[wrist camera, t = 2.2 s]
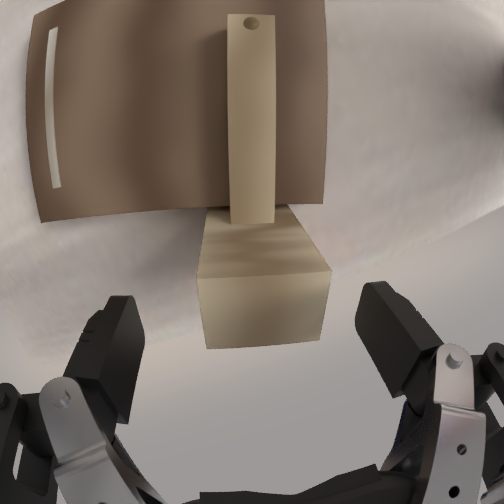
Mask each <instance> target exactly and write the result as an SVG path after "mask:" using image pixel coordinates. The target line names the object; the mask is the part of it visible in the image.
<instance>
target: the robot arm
mask: <svg viewBox="0 0 504 504" xmlns="http://www.w3.org/2000/svg"><path fill="white" fill-rule="evenodd" d="M355 327H356V331H357V333H358V335H359V336H360V338H361V340H362V342H363V344H364V345H365V347H366V349H367V351H368V353H369V354H370V356H371V358H372V360H373V361H374V364H375V365H376V367H377V369H378V371H379V373H380V375H381V377H382V379H383V380H384V382H385V384H386V386H387V388H388V390H389V392H390V394H391V396H392V398H396V397H399V396H402V395H405V396H406V398H407V399H406V401H405V403H404V405H403V410H402V414H401V418H400V422H399V426H398V430H397V434H396V438H395V441H394V444H393V447H392V449H391V451H390V453H389V455H388V456H387V458H386V459H385V461H384V463H383V465H382V467H381V469H380V471H378V470H377V467H376V464H373V465H370V466H367V467H364V468H361V469H358V470H354V471H351V472H348V473H345V474H341V475H337V476H335V477H333V478H331V479H329V480H327V481H325V482H323V483H321V484H319V485H317V486H315V487H313V488H310V489H308V490H306V491H304V492H301V493H299V494H295V495H282V494H269V493H258V492H250V491H236V492H200V499H198V500H193V501H189V502H186V503H183V504H477V499H478V494H479V489H480V483H481V477H483V480H484V482H485V484H486V488H487V490H488V491H486V492H485V493H483V495H482V496H481V499H480V501H481V504H504V427H503V428H502V427H500V425H499V423H498V422H497V420H496V418H495V416H494V414H493V412H492V410H491V409H490V407H489V405H488V403H487V402H486V401H487V400H488V399H489V398H490V397H491V395H492V394H493V393H494V392H496V393H497V395H498V397H499V398H500V400H501V402H502V403H503V405H504V345H503V344H500V343H491V344H490V345H489V346H488V348H487V349H486V351H485V352H484V354H483V355H469V353H468V352H467V351H466V350H465V349H464V348H462V347H461V346H459V345H456V344H452V343H450V344H449V343H448V344H444V343H443V342H442V340H441V339H440V338H439V337H438V335H437V334H436V333H435V331H434V330H433V329H432V328H431V327H430V325H429V324H428V323H427V322H426V320H425V319H424V318H422V316H421V314H420V313H419V312H418V311H416V309H415V307H414V306H413V305H412V304H411V303H410V301H409V300H408V299H406V298H405V297H403V296H401V295H400V294H398V293H396V292H395V291H394V290H393V288H392V287H391V286H390V285H389V284H388V283H387V282H386V281H379V282H371V283H366V284H365V285H364V286H363V290H362V293H361V297H360V301H359V305H358V308H357V312H356V316H355ZM144 345H145V336H144V330H143V326H142V323H141V320H140V316H139V313H138V309H137V306H136V302H135V299H134V297H133V296H111V297H110V298H109V300H108V302H107V304H106V306H105V308H104V310H98V311H97V312H96V313H95V314H94V315H93V316H92V317H91V318H90V319H89V320H88V322H87V324H86V326H85V328H84V330H83V333H82V334H81V336H80V338H79V342H77V345H76V347H75V349H74V351H73V353H72V356H71V358H70V360H69V362H68V365H67V367H66V369H65V372H64V374H63V377H57V378H54V379H52V380H50V381H49V382H48V383H46V384H45V386H44V387H43V388H42V390H41V392H40V393H33V394H22V395H21V394H20V393H19V392H18V391H17V390H16V388H15V387H14V386H13V385H12V384H9V383H1V384H0V504H56V501H57V490H58V486H59V488H60V490H61V493H62V495H63V497H64V499H65V501H66V503H67V504H167V503H166V502H165V501H164V499H163V498H162V497H161V496H160V495H159V494H158V493H157V491H156V490H155V489H154V488H153V487H152V486H151V485H150V484H149V483H148V481H147V480H146V479H145V478H144V476H143V475H142V474H141V472H140V471H139V469H138V468H137V467H136V465H135V464H134V462H133V461H132V459H131V458H130V456H129V455H128V453H127V451H126V450H125V448H124V447H123V445H122V443H121V442H120V440H119V438H118V437H117V435H116V434H115V428H116V423H121V424H128V422H129V416H130V411H131V405H132V400H133V395H134V390H135V385H136V380H137V376H138V371H139V367H140V362H141V358H142V353H143V349H144ZM18 443H21V444H22V445H23V450H22V454H21V460H20V464H19V470H18V475H17V479H16V480H15V478H14V475H13V466H14V461H15V456H16V452H17V447H18Z"/></svg>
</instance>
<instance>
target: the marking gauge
mask: <svg viewBox="0 0 504 504" xmlns="http://www.w3.org/2000/svg"><path fill="white" fill-rule="evenodd" d="M227 103H228V157H229V193H230V206H217V207H208V210H207V216H206V221H205V227H204V233H203V239H202V245H201V251H200V257H199V264H198V270H197V277H196V281H197V289H198V296H199V303H200V310H201V317H202V323H203V330H204V335H205V342H206V348H207V349H223V348H242V347H256V346H270V345H280V344H290V343H300V342H308V341H316V340H319V339H320V334H321V329H322V324H323V319H324V314H325V309H326V303H327V298H328V292H329V286H330V280H331V274H332V271H331V269H330V267H329V266H328V264H327V263H326V261H325V260H324V258H323V257H322V255H321V254H320V252H319V251H318V249H317V248H316V246H315V245H314V243H313V242H312V240H311V239H310V237H309V236H308V234H307V233H306V231H305V230H304V228H303V227H302V225H301V224H300V222H299V221H298V220H297V218H296V217H295V215H294V214H293V212H292V211H291V209H290V208H289V207H288V205H287V204H275V161H276V47H275V15H258V14H228V20H227Z"/></svg>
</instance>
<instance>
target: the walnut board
mask: <svg viewBox="0 0 504 504" xmlns="http://www.w3.org/2000/svg"><path fill="white" fill-rule="evenodd" d="M228 14H258V15H275V47H276V161H275V204H323V193H324V179H325V162H326V141H327V101H328V76H327V38H326V19H325V5H324V0H65V1H63V2H61V3H58V4H56V5H54V6H52V7H50V8H48V9H46V10H44V11H42V12H40V13H38V14H36V15H35V16H34V19H33V24H32V30H31V36H30V43H29V51H28V61H27V74H26V127H27V141H28V152H29V160H30V168H31V175H32V181H33V187H34V192H35V198H36V203H37V207H38V212H39V216H40V220H41V223H43V222H50V221H58V220H66V219H74V218H82V217H91V216H100V215H109V214H120V213H130V212H142V211H154V210H167V209H182V208H198V207H217V206H230V193H229V157H228V103H227V20H228Z"/></svg>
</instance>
